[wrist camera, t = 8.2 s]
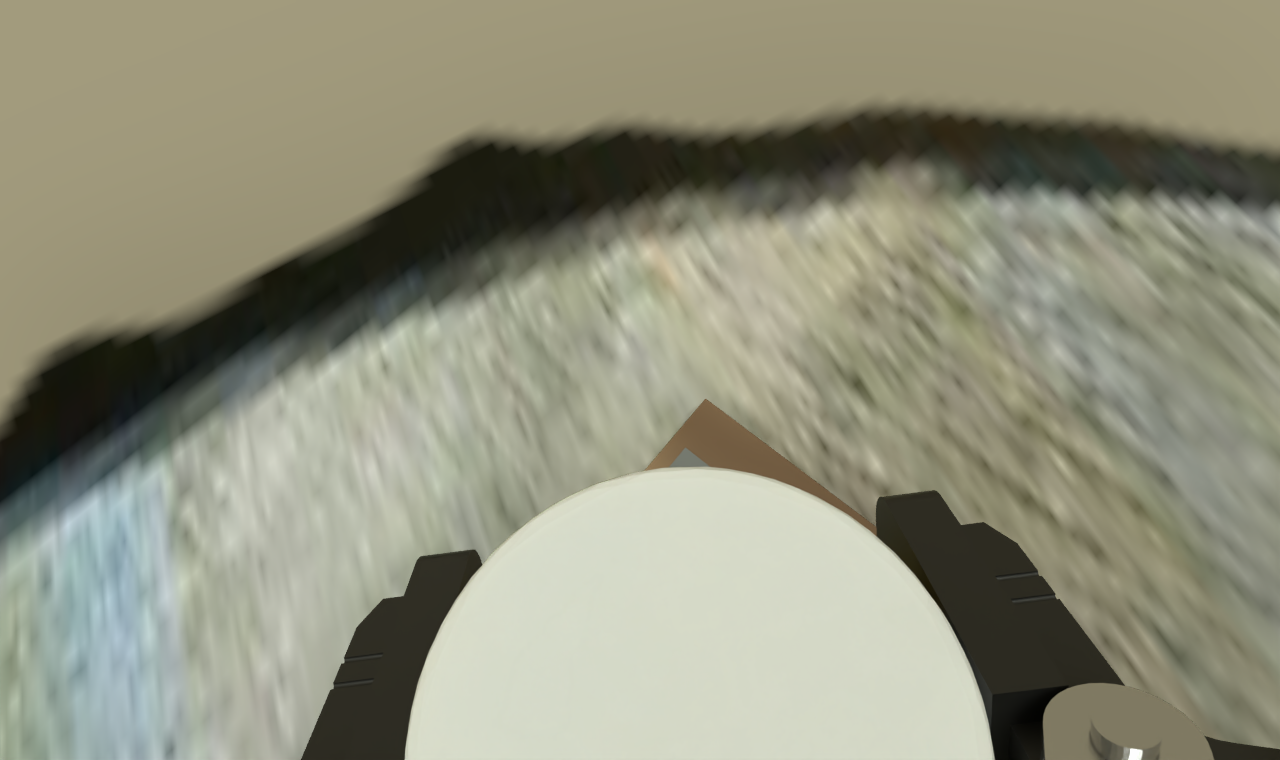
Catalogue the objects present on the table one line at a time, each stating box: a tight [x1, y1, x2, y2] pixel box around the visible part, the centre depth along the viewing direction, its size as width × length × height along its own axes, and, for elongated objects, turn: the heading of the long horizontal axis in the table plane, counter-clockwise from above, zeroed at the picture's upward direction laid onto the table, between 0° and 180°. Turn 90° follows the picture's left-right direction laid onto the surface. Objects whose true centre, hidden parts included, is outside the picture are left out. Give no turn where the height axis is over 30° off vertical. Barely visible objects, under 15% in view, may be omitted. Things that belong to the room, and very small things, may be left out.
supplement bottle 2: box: [405, 467, 995, 760], centre depth 10 cm, size 5×5×10 cm
